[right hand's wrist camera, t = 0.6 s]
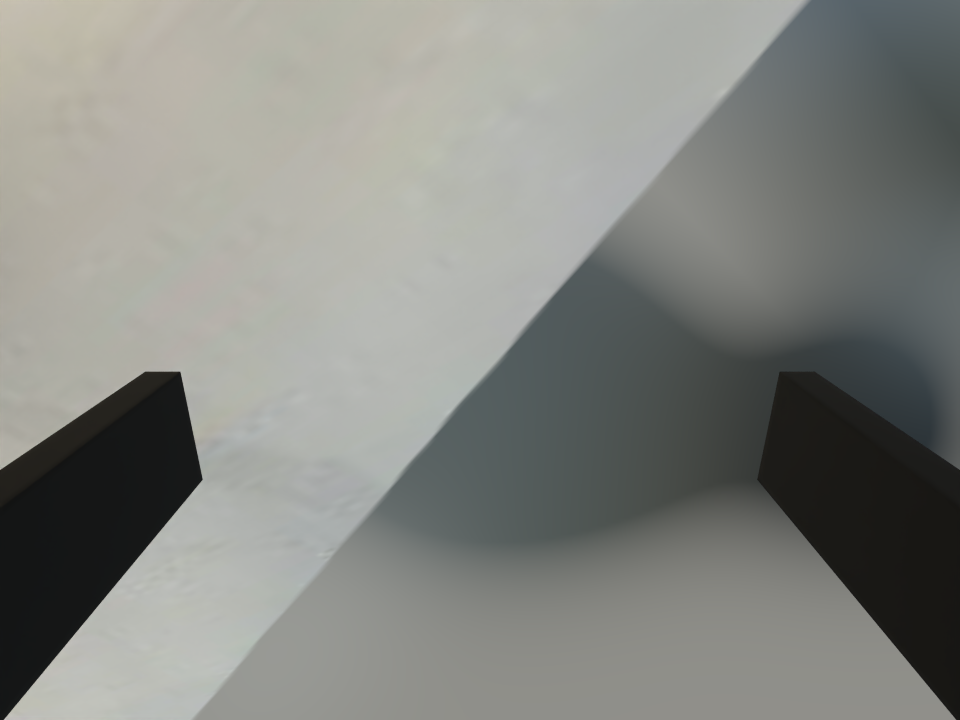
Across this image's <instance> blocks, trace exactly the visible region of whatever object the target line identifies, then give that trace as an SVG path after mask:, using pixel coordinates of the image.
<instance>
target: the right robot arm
mask: <svg viewBox="0 0 960 720" xmlns="http://www.w3.org/2000/svg"><path fill="white" fill-rule="evenodd" d="M202 480H203V479H202V474H201V469H200V464H199V460H198V455H197V450H196V445H195V440H194V435H193V431H192V426H191V421H190V416H189V411H188V406H187V402H186V397H185V392H184V387H183V382H182V377H181V373H180V372H144V373H143V374H141V375H140V376H138V377H137V378H135V379H134V380H132V381H131V382H129V383H128V384H127V385H125V386H124V387H122V388H121V389H119V390H118V391H116V392H115V393H113V394H112V395H110V396H109V397H107V398H106V399H104V400H103V401H101V402H100V403H98V404H97V405H96V406H94V407H93V408H91V409H90V410H88V411H87V412H85V413H84V414H82V415H81V416H79V417H78V418H76V419H75V420H73V421H72V422H70V423H69V424H67V425H66V426H65V427H63V428H62V429H60V430H59V431H57V432H56V433H54V434H53V435H51V436H50V437H48V438H47V439H45V440H44V441H42V442H41V443H39V444H38V445H37V446H35V447H34V448H32V449H31V450H29V451H28V452H26V453H25V454H23V455H22V456H20V457H19V458H17V459H16V460H14V461H13V462H11V463H10V464H8V465H7V466H6V467H4V468H3V469H1V470H0V720H4V719H5V718H6V716H7V715H8V714H9V713H10V711H11V710H12V709H13V708H14V707H15V705H16V704H17V703H18V702H19V701H20V699H21V698H22V697H23V696H24V695H25V693H26V692H27V691H28V690H29V689H30V687H31V686H32V685H33V684H34V683H35V681H36V680H37V679H38V678H39V676H40V675H41V674H42V673H43V672H44V670H45V669H46V668H47V667H48V666H49V664H50V663H51V662H52V661H53V660H54V658H55V657H56V656H57V655H58V654H59V652H60V651H61V650H62V649H63V648H64V646H65V645H66V644H67V643H68V642H69V640H70V639H71V638H72V637H73V635H74V634H75V633H76V632H77V631H78V629H79V628H80V627H81V626H82V625H83V623H84V622H85V621H86V620H87V619H88V617H89V616H90V615H91V614H92V613H93V611H94V610H95V609H96V608H97V607H98V605H99V604H100V603H101V602H102V600H103V599H104V598H105V597H106V596H107V594H108V593H109V592H110V591H111V590H112V588H113V587H114V586H115V585H116V584H117V582H118V581H119V580H120V579H121V578H122V576H123V575H124V574H125V573H126V572H127V570H128V569H129V568H130V567H131V565H132V564H133V563H134V562H135V561H136V559H137V558H138V557H139V556H140V555H141V553H142V552H143V551H144V550H145V549H146V547H147V546H148V545H149V544H150V543H151V541H152V540H153V539H154V538H155V537H156V535H157V534H158V533H159V532H160V531H161V529H162V528H163V527H164V526H165V524H166V523H167V522H168V521H169V520H170V518H171V517H172V516H173V515H174V514H175V512H176V511H177V510H178V509H179V508H180V506H181V505H182V504H183V503H184V502H185V500H186V499H187V498H188V497H189V496H190V494H191V493H192V492H193V491H194V489H195V488H196V487H197V486H198V485H199V483H200V482H201V481H202ZM757 480H758V481H759V482H760V483H761V485H762V486H763V487H764V488H765V489H766V491H767V492H768V493H769V494H770V496H771V497H772V498H773V499H774V500H775V501H776V503H777V504H778V505H779V506H780V508H781V509H782V510H783V511H784V512H785V514H786V515H787V516H788V517H789V518H790V520H791V521H792V522H793V523H794V524H795V526H796V527H797V528H798V529H799V530H800V532H801V533H802V534H803V535H804V536H805V538H806V539H807V540H808V541H809V543H810V544H811V545H812V546H813V547H814V549H815V550H816V551H817V552H818V553H819V555H820V556H821V557H822V558H823V559H824V561H825V562H826V563H827V564H828V565H829V567H830V568H831V569H832V570H833V572H834V573H835V574H836V575H837V576H838V578H839V579H840V580H841V581H842V582H843V584H844V585H845V586H846V587H847V588H848V590H849V591H850V592H851V593H852V594H853V596H854V597H855V598H856V599H857V600H858V602H859V603H860V604H861V605H862V607H863V608H864V609H865V610H866V611H867V613H868V614H869V615H870V616H871V617H872V619H873V620H874V621H875V622H876V623H877V625H878V626H879V627H880V628H881V629H882V631H883V632H884V633H885V634H886V635H887V637H888V638H889V639H890V640H891V642H892V643H893V644H894V645H895V646H896V648H897V649H898V650H899V651H900V652H901V654H902V655H903V656H904V657H905V658H906V660H907V661H908V662H909V663H910V664H911V666H912V667H913V668H914V669H915V670H916V672H917V673H918V674H919V675H920V676H921V678H922V679H923V680H924V681H925V683H926V684H927V685H928V686H929V687H930V689H931V690H932V691H933V692H934V693H935V695H936V696H937V697H938V698H939V699H940V701H941V702H942V703H943V704H944V705H945V707H946V708H947V709H948V710H949V711H950V713H951V714H952V715H953V716H954V717H955V719H956V720H960V470H959V469H957V468H956V467H954V466H953V465H952V464H950V463H949V462H947V461H946V460H944V459H943V458H941V457H940V456H938V455H937V454H935V453H934V452H932V451H931V450H929V449H928V448H926V447H925V446H923V445H922V444H921V443H919V442H918V441H916V440H915V439H913V438H912V437H910V436H909V435H907V434H906V433H904V432H903V431H901V430H900V429H898V428H897V427H895V426H894V425H892V424H891V423H890V422H888V421H887V420H885V419H884V418H882V417H881V416H879V415H878V414H876V413H875V412H873V411H872V410H870V409H869V408H867V407H866V406H864V405H863V404H861V403H860V402H859V401H857V400H856V399H854V398H853V397H851V396H850V395H848V394H847V393H845V392H844V391H842V390H841V389H839V388H838V387H836V386H835V385H833V384H832V383H831V382H829V381H828V380H826V379H825V378H823V377H822V376H820V375H819V374H817V373H816V372H780V373H779V377H778V382H777V387H776V392H775V397H774V402H773V406H772V411H771V416H770V421H769V426H768V431H767V436H766V440H765V445H764V450H763V455H762V460H761V464H760V469H759V474H758V479H757Z"/></svg>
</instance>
